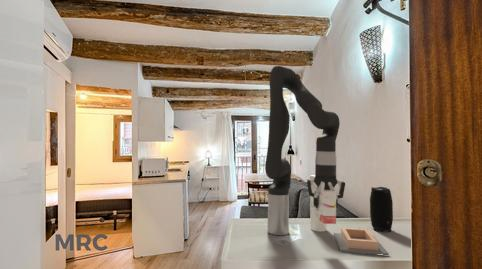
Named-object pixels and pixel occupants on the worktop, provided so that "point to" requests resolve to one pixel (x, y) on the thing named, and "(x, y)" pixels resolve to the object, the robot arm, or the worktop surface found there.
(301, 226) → the worktop surface
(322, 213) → the ink cartridge box
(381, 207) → the portable speaker
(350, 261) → the worktop surface
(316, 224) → the cylindrical container
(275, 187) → the robot arm
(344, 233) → the dock
